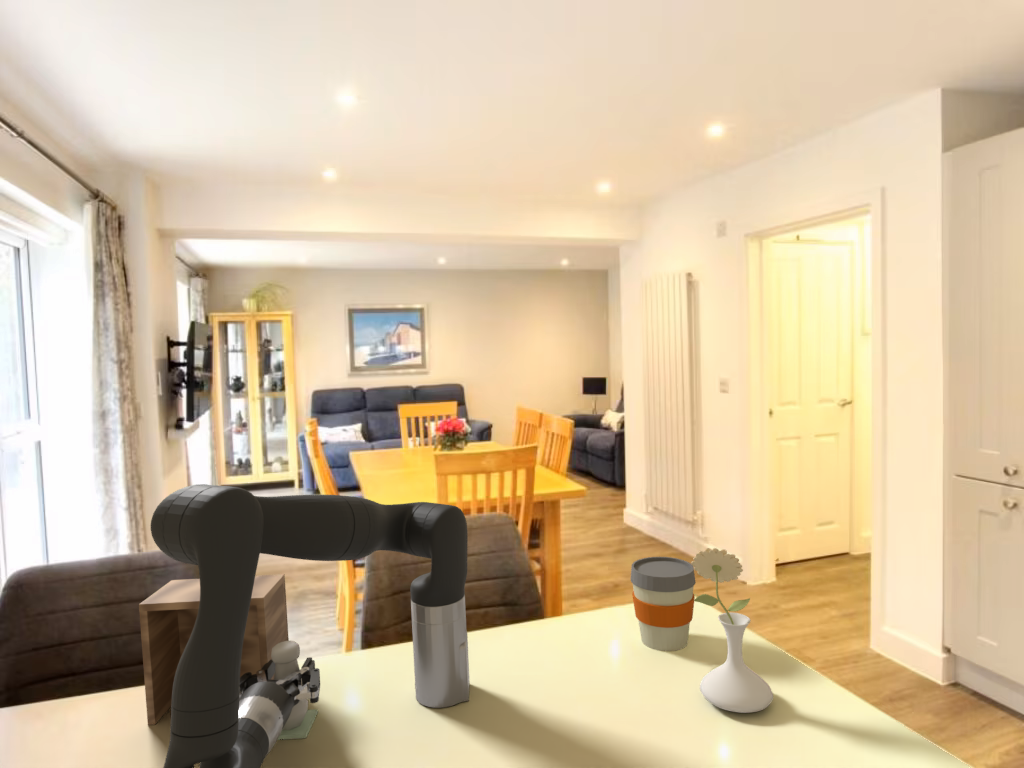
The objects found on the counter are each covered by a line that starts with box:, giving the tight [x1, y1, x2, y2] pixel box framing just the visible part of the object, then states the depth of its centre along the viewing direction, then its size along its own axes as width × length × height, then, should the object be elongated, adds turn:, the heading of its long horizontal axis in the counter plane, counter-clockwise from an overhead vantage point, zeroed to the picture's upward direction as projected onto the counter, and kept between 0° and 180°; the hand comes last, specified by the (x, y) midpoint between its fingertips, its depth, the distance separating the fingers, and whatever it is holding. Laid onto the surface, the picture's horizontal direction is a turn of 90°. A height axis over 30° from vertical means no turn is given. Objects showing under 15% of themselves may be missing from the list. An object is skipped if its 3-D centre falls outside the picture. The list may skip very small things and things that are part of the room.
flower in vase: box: [690, 547, 774, 714], centre depth 106 cm, size 13×11×25 cm
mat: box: [277, 708, 319, 741], centre depth 104 cm, size 7×7×1 cm
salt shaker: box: [271, 640, 309, 730], centre depth 103 cm, size 6×6×13 cm
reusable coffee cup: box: [630, 556, 696, 652], centre depth 128 cm, size 13×13×15 cm
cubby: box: [138, 573, 290, 726], centre depth 111 cm, size 20×11×20 cm, turn 92°
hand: (291, 664), depth 106 cm, fingers open, 5 cm apart
